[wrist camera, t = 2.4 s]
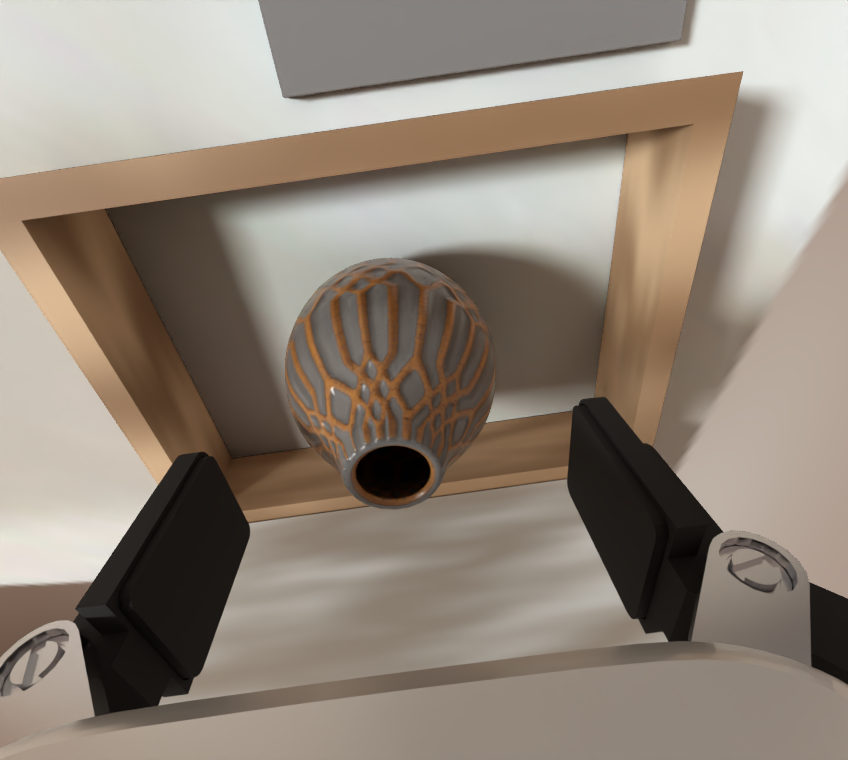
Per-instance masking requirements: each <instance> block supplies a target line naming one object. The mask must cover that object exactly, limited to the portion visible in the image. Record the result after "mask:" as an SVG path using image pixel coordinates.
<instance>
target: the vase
mask: <svg viewBox="0 0 848 760" xmlns="http://www.w3.org/2000/svg"><path fill="white" fill-rule="evenodd" d="M285 382H286V390H287V396H288V401H289V405H290V408H291V411H292V414H293V417H294V419H295V422H296V424H297V426H298V428H299V430H300V432H301V433H302V435H303V436H304V438H305V439H306V441H307V442H308V443H309V445H310V446H311V447H312V448H313V449H314V450H315V451H316V452H317V453H318V454H319V455H320V456H321V457H322V458H323V459H324V460H325V461H326V462H327V463H329V464H330V465H331V466H332V467H333V468H335V469H336V470H337V471H339V473H340V476H341V478H342V480H343V482H344V484H345V486H346V488H347V489H348V491H349V492H350V493H351V494H352V495H353V496H354V497H355V498H356V499H358V500H359V501H361V502H362V503H364V504H366V505H369V506H372V507H375V508H380V509H389V510H394V509H403V508H408V507H412V506H415V505H417V504H419V503H421V502H423V501H425V500H426V499H428V498H429V497H430V496H432V495H433V494H434V493H435V491H436V490H437V489H438V488H439V486H440V484H441V482H442V480H443V478H444V475H445V473H446V470H447V469H448V468H449V467H450V466H451V465H452V464H453V463H454V462H455V461H457V460H458V459H459V458H460V457H461V456H462V455H463V454H464V453H465V452H466V451H467V450H468V449H469V447H470V446H471V445H472V444H473V442H474V441H475V440H476V438H477V437H478V435H479V434H480V432H481V430H482V429H483V427H484V425H485V422H486V420H487V418H488V415H489V413H490V409H491V406H492V402H493V397H494V391H495V383H496V359H495V352H494V346H493V342H492V339H491V336H490V333H489V330H488V328H487V325H486V323H485V321H484V319H483V317H482V315H481V313H480V312H479V310H478V308H477V306H476V305H475V304H474V302H473V301H472V299H471V298H470V297H469V296H468V294H467V293H466V292H465V291H464V290H463V289H462V288H461V287H460V286H459V285H458V284H457V283H456V282H455V281H453V280H452V279H451V278H449V277H448V276H446V275H445V274H443V273H441V272H440V271H438V270H436V269H434V268H432V267H430V266H428V265H425V264H423V263H419V262H416V261H412V260H407V259H400V258H381V259H374V260H368V261H364V262H361V263H358V264H355V265H353V266H350V267H348V268H346V269H344V270H343V271H341V272H339V273H337V274H336V275H334V276H333V277H331V278H330V279H328V280H327V281H326V282H325V283H324V284H322V285H321V286H320V287H319V288H318V289H317V291H316V292H315V293H314V294H313V295H312V297H311V298H310V299H309V300H308V302H307V303H306V305H305V306H304V308H303V309H302V311H301V313H300V315H299V316H298V318H297V320H296V322H295V325H294V327H293V330H292V333H291V335H290V338H289V342H288V346H287V352H286V359H285Z"/></svg>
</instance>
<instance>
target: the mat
mask: <svg viewBox="0 0 848 760" xmlns="http://www.w3.org/2000/svg"><path fill="white" fill-rule="evenodd" d="M258 1H259V5H260V9H261V13H262V17H263V20H264V24H265V28H266V32H267V36H268V40H269V44H270V48H271V52H272V56H273V60H274V64H275V68H276V72H277V76H278V80H279V84H280V88H281V91H282V95H283V97H284V98H291V97H297V96H304V95H311V94H318V93H325V92H332V91H339V90H346V89H353V88H359V87H366V86H373V85H380V84H387V83H394V82H401V81H408V80H415V79H421V78H428V77H435V76H442V75H449V74H456V73H463V72H470V71H477V70H483V69H490V68H497V67H504V66H511V65H518V64H525V63H532V62H539V61H545V60H552V59H559V58H566V57H573V56H580V55H587V54H594V53H601V52H607V51H614V50H621V49H628V48H635V47H642V46H649V45H656V44H663V43H669V42H674V41H677V40H681V34H682V28H683V22H684V16H685V11H686V5H687V0H258Z"/></svg>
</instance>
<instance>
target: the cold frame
mask: <svg viewBox="0 0 848 760" xmlns="http://www.w3.org/2000/svg"><path fill="white" fill-rule="evenodd" d="M742 75H743V71H742V72H735V73H728V74H720V75H713V76H705V77H698V78H690V79H683V80H676V81H668V82H661V83H654V84H647V85H640V86H633V87H626V88H619V89H612V90H606V91H599V92H592V93H585V94H578V95H571V96H564V97H557V98H550V99H543V100H536V101H529V102H523V103H516V104H509V105H502V106H495V107H488V108H481V109H474V110H467V111H460V112H453V113H446V114H440V115H433V116H426V117H419V118H412V119H405V120H398V121H391V122H384V123H377V124H370V125H363V126H356V127H350V128H343V129H336V130H329V131H322V132H315V133H308V134H301V135H294V136H287V137H280V138H273V139H267V140H260V141H253V142H246V143H239V144H232V145H225V146H218V147H211V148H204V149H197V150H190V151H184V152H177V153H170V154H163V155H156V156H149V157H142V158H135V159H128V160H121V161H114V162H107V163H101V164H94V165H87V166H80V167H73V168H66V169H59V170H52V171H46V172H39V173H32V174H26V175H19V176H13V177H6V178H0V250H1V252H2V253H3V255H4V256H5V258H6V259H7V261H8V262H9V264H10V265H11V267H12V268H13V269H14V271H15V272H16V274H17V275H18V277H19V278H20V280H21V281H22V283H23V284H24V286H25V287H26V289H27V290H28V292H29V293H30V295H31V296H32V298H33V299H34V301H35V302H36V304H37V305H38V307H39V308H40V310H41V311H42V313H43V314H44V316H45V317H46V319H47V320H48V322H49V323H50V324H51V326H52V327H53V329H54V330H55V332H56V333H57V335H58V336H59V338H60V339H61V341H62V342H63V344H64V345H65V347H66V348H67V350H68V351H69V353H70V354H71V356H72V357H73V359H74V360H75V362H76V363H77V365H78V366H79V368H80V369H81V371H82V372H83V374H84V375H85V377H86V378H87V379H88V381H89V382H90V384H91V385H92V387H93V388H94V390H95V391H96V393H97V394H98V396H99V397H100V399H101V400H102V402H103V403H104V405H105V406H106V408H107V409H108V411H109V412H110V414H111V415H112V417H113V418H114V420H115V421H116V423H117V424H118V426H119V427H120V429H121V430H122V432H123V433H124V434H125V436H126V437H127V439H128V440H129V442H130V443H131V445H132V446H133V448H134V449H135V451H136V452H137V454H138V455H139V457H140V458H141V460H142V461H143V463H144V464H145V466H146V467H147V469H148V470H149V472H150V473H151V475H152V476H153V478H154V479H155V481H156V482H157V484H158V485H159V483H160V482H161V480H162V479H163V477H164V476H165V474H166V473H167V471H168V470H169V468H170V467H171V465H172V464H173V462H174V461H175V459H176V458H177V457H178V456H179V455H182V454H189V453H196V452H206V453H207V454H208V455H209V456H213V457H214V458H215V459H216V461H217V463H218V465H219V467H220V469H221V471H222V473H223V474H224V476H225V478H226V480H227V482H228V484H229V486H230V488H231V490H232V492H233V494H234V496H235V498H236V500H237V502H238V504H239V506H240V508H241V510H242V512H243V513H244V515H245V517H246V519H247V521H248V523H249V526H250V538H249V541H248V544H247V547H246V549H245V552H244V555H243V558H242V561H241V563H240V566H239V569H238V572H237V575H236V577H235V580H234V583H233V586H232V589H231V591H230V594H229V597H228V600H227V603H226V606H225V608H224V611H223V614H222V617H221V620H220V622H219V625H218V628H217V631H216V634H215V636H214V639H213V642H212V645H211V648H210V650H209V653H208V656H207V659H206V662H205V664H204V667H203V669H202V671H201V673H200V674H199V675H198V676H197V677H194V680H193V682H192V685H191V688H190V690H189V693H188V694H186V695H178V696H171V697H163V696H162V698H161V700H160V703H159V705H158V706H160V705H166V704H172V703H179V702H185V701H192V700H199V699H207V698H214V697H221V696H229V695H236V694H243V693H250V692H258V691H265V690H272V689H280V688H287V687H294V686H302V685H309V684H317V683H324V682H332V681H339V680H347V679H354V678H362V677H369V676H377V675H385V674H392V673H400V672H408V671H415V670H423V669H431V668H438V667H446V666H454V665H462V664H470V663H478V662H486V661H493V660H501V659H509V658H517V657H525V656H533V655H541V654H549V653H557V652H565V651H574V650H584V649H593V648H602V647H612V646H621V645H630V644H640V643H657V642H668V640H667V638H666V636H665V634H664V633H663V632H657V633H649V634H645V632H644V630H643V628H642V626H641V624H640V622H639V620H638V619H632V618H631V617H630V616H629V615H628V613H627V611H626V609H625V607H624V605H623V603H622V601H621V599H620V597H619V595H618V593H617V591H616V589H615V587H614V585H613V582H612V580H611V578H610V576H609V574H608V572H607V570H606V568H605V566H604V564H603V562H602V560H601V558H600V556H599V554H598V552H597V550H596V548H595V546H594V543H593V541H592V539H591V537H590V535H589V533H588V531H587V529H586V527H585V525H584V523H583V521H582V519H581V517H580V515H579V513H578V511H577V509H576V507H575V504H574V502H573V500H572V498H571V496H570V494H569V491H568V486H567V475H568V463H569V450H570V438H571V425H572V412H573V411H570V412H563V413H556V414H549V415H542V416H534V417H527V418H520V419H513V420H506V421H499V422H491V423H485V425H484V427H483V429H482V430H481V432H480V434H479V435H478V437H477V438H476V440H475V441H474V442H473V444H472V445H471V446H470V447H469V449H468V450H467V451H466V452H465V453H464V454H463V455H462V456H461V457H460V458H459V459H458V460H457V461H455V462H454V463H453V464H452V465H451V466H450V467H449V468H448V469H447V470H446V473H445V475H444V478H443V480H442V482H441V484H440V486H439V488H438V489H437V490H436V491H435V493H434V494H433V495H432V496H430V497H429V498H428V499H426V500H425V501H423V502H421V503H419V504H417V505H415V506H412V507H408V508H403V509H394V510H389V509H380V508H375V507H372V506H369V505H366V504H364V503H362V502H361V501H359V500H358V499H356V498H355V497H354V496H353V495H352V494H351V493H350V492H349V491H348V489H347V488H346V486H345V484H344V482H343V480H342V478H341V476H340V473H339V471H337V470H336V469H335V468H333V467H332V466H331V465H330V464H329V463H327V462H326V461H325V460H324V459H323V458H322V457H321V456H320V455H319V454H318V453H317V452H316V451H315V450H314V449H313V448H305V449H298V450H291V451H284V452H276V453H269V454H262V455H255V456H248V457H241V458H233V459H232V458H231V456H230V454H229V452H228V450H227V448H226V446H225V444H224V442H223V440H222V439H221V437H220V435H219V433H218V431H217V429H216V427H215V425H214V423H213V421H212V419H211V417H210V415H209V413H208V411H207V409H206V407H205V405H204V403H203V401H202V399H201V397H200V395H199V393H198V391H197V389H196V388H195V386H194V384H193V382H192V380H191V378H190V376H189V374H188V372H187V370H186V368H185V366H184V364H183V362H182V360H181V358H180V356H179V354H178V352H177V350H176V348H175V346H174V344H173V342H172V340H171V338H170V336H169V335H168V333H167V331H166V329H165V327H164V325H163V323H162V321H161V319H160V317H159V315H158V313H157V311H156V309H155V307H154V305H153V303H152V301H151V299H150V297H149V295H148V293H147V291H146V289H145V287H144V285H143V284H142V282H141V280H140V278H139V276H138V274H137V272H136V270H135V268H134V266H133V264H132V262H131V260H130V258H129V256H128V254H127V252H126V250H125V248H124V246H123V244H122V242H121V240H120V238H119V236H118V234H117V232H116V231H115V229H114V227H113V225H112V223H111V221H110V219H109V217H108V215H107V213H106V211H105V209H106V208H113V207H120V206H127V205H134V204H141V203H148V202H154V201H161V200H168V199H175V198H182V197H189V196H196V195H203V194H210V193H217V192H224V191H231V190H238V189H245V188H252V187H259V186H266V185H273V184H280V183H287V182H294V181H301V180H307V179H314V178H321V177H328V176H335V175H342V174H349V173H356V172H363V171H370V170H377V169H384V168H391V167H398V166H405V165H412V164H419V163H426V162H433V161H440V160H447V159H454V158H460V157H467V156H474V155H481V154H488V153H495V152H502V151H509V150H516V149H523V148H530V147H537V146H544V145H551V144H558V143H565V142H572V141H579V140H586V139H593V138H600V137H606V136H613V135H620V134H627V133H628V136H627V144H626V152H625V159H624V167H623V175H622V183H621V191H620V199H619V207H618V215H617V223H616V231H615V238H614V246H613V254H612V262H611V270H610V278H609V286H608V294H607V302H606V310H605V317H604V325H603V333H602V341H601V349H600V357H599V365H598V373H597V381H596V389H595V396H594V398H596V397H606V398H607V399H608V400H609V402H610V403H611V404H612V405H613V406H614V408H615V409H616V410H617V411H618V413H619V414H620V415H621V416H622V418H623V419H624V420H625V421H626V423H627V424H628V425H629V426H630V428H631V429H632V430H633V431H634V433H635V434H636V435H637V436H638V438H639V439H640V440H641V441H642V443H647V444H649V445H651V446H652V447H653V445H654V441H655V437H656V432H657V428H658V424H659V420H660V416H661V412H662V408H663V403H664V399H665V395H666V391H667V387H668V383H669V378H670V374H671V370H672V366H673V362H674V358H675V353H676V349H677V345H678V341H679V337H680V333H681V329H682V324H683V320H684V316H685V312H686V308H687V304H688V299H689V295H690V291H691V287H692V283H693V279H694V275H695V270H696V266H697V262H698V258H699V254H700V250H701V245H702V241H703V237H704V233H705V229H706V225H707V220H708V216H709V212H710V208H711V204H712V200H713V196H714V191H715V187H716V183H717V179H718V175H719V171H720V166H721V162H722V158H723V154H724V150H725V146H726V142H727V137H728V133H729V129H730V125H731V121H732V117H733V112H734V108H735V104H736V100H737V96H738V92H739V87H740V83H741V79H742Z"/></svg>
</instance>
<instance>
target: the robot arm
mask: <svg viewBox="0 0 848 760" xmlns="http://www.w3.org/2000/svg"><path fill="white" fill-rule="evenodd" d="M567 486H568V491H569V494H570V496H571V498H572V500H573V502H574V504H575V507H576V509H577V511H578V513H579V515H580V517H581V519H582V521H583V523H584V525H585V527H586V529H587V531H588V533H589V535H590V537H591V539H592V541H593V543H594V546H595V548H596V550H597V552H598V554H599V556H600V558H601V560H602V562H603V564H604V566H605V568H606V570H607V572H608V574H609V576H610V578H611V580H612V582H613V585H614V587H615V589H616V591H617V593H618V595H619V597H620V599H621V601H622V603H623V605H624V607H625V609H626V611H627V613H628V615H629V616H630V617H631V618H632V619H638V620H639V622H640V624H641V626H642V628H643V630H644V632H645V634H649V633H657V632H663V633H664V634H665V636H666V638H667V640H668V642H657V643H640V644H630V645H621V646H612V647H602V648H593V649H584V650H574V651H565V652H557V653H549V654H541V655H533V656H525V657H517V658H509V659H501V660H493V661H486V662H478V663H470V664H462V665H454V666H446V667H438V668H431V669H423V670H415V671H408V672H400V673H392V674H385V675H377V676H369V677H362V678H354V679H347V680H339V681H332V682H324V683H317V684H309V685H302V686H294V687H287V688H280V689H272V690H265V691H258V692H250V693H243V694H236V695H229V696H221V697H214V698H207V699H199V700H192V701H185V702H179V703H172V704H166V705H160V706H158V705H159V703H160V700H161V698H162V696H163V697H171V696H178V695H186V694H188V693H189V690H190V688H191V685H192V682H193V680H194V677H197V676H198V675H199V674H200V673H201V671H202V669H203V667H204V664H205V662H206V659H207V656H208V653H209V650H210V648H211V645H212V642H213V639H214V636H215V634H216V631H217V628H218V625H219V622H220V620H221V617H222V614H223V611H224V608H225V606H226V603H227V600H228V597H229V594H230V591H231V589H232V586H233V583H234V580H235V577H236V575H237V572H238V569H239V566H240V563H241V561H242V558H243V555H244V552H245V549H246V547H247V544H248V541H249V538H250V526H249V523H248V521H247V519H246V517H245V515H244V513H243V512H242V510H241V508H240V506H239V504H238V502H237V500H236V498H235V496H234V494H233V492H232V490H231V488H230V486H229V484H228V482H227V480H226V478H225V476H224V474H223V473H222V471H221V469H220V467H219V465H218V463H217V461H216V459H215V458H214V457H213V456H209V455H208V454H207V453H206V452H196V453H189V454H182V455H179V456H178V457H177V458H176V459H175V461H174V462H173V464H172V465H171V467H170V468H169V470H168V471H167V473H166V474H165V476H164V477H163V479H162V480H161V482H160V483H159V485H158V486H157V488H156V489H155V491H154V492H153V494H152V495H151V496H150V498H149V499H148V501H147V502H146V504H145V505H144V507H143V508H142V510H141V511H140V513H139V514H138V516H137V517H136V519H135V520H134V522H133V523H132V525H131V526H130V528H129V529H128V531H127V532H126V534H125V535H124V537H123V538H122V540H121V541H120V543H119V544H118V546H117V547H116V549H115V550H114V552H113V553H112V555H111V556H110V558H109V559H108V561H107V562H106V564H105V565H104V567H103V568H102V570H101V571H100V573H99V574H98V576H97V577H96V579H95V580H94V581H93V583H92V584H91V586H90V587H89V589H88V591H87V592H86V593H85V595H84V596H83V598H82V599H81V601H80V602H79V604H78V605H77V607H76V608H75V609H76V610H77V611H78V612H79V614H78V616H77V617H76V619H75V620H74V622H70V621H67V620H66V621H56V622H52V623H49V624H46V625H44V626H42V627H40V628H38V629H36V630H34V631H32V632H31V633H29V634H28V635H26V636H25V637H23V638H22V639H21V640H19V641H18V642H16V643H15V644H14V645H13V646H12V647H11V648H10V649H9V650H8V651H7V652H6V653H5V654H3V655H2V657H1V658H0V760H848V599H847V598H845V597H843V596H840V595H838V594H835V593H833V592H831V591H829V590H826V589H824V588H822V587H819V586H817V585H814V584H812V583H810V582H809V580H808V576H807V573H806V571H805V570H804V568H803V567H802V565H801V563H800V562H799V561H798V560H797V559H796V558H795V557H794V556H793V555H792V554H791V553H790V552H789V551H788V550H786V549H785V548H783V547H782V546H780V545H778V544H777V543H775V542H774V541H771V540H769V539H767V538H765V537H763V536H760V535H757V534H753V533H749V532H745V531H728V532H723V531H722V530H721V529H720V527H719V526H718V525H717V524H716V523H715V521H714V520H713V519H712V518H711V517H710V515H709V514H708V513H707V512H706V510H705V509H704V508H703V507H702V506H701V504H700V503H699V502H698V501H697V500H696V498H695V497H694V496H693V495H692V494H691V492H690V491H689V490H688V489H687V487H686V486H685V485H684V484H683V483H682V482H681V480H680V479H679V478H678V477H677V475H676V474H675V473H674V472H673V471H672V469H671V468H670V467H669V466H668V464H667V463H666V462H665V461H664V460H663V458H662V457H661V456H660V455H659V454H658V452H657V451H656V450H655V449H654V448H653V447H652V446H651V445H649V444H647V443H642V441H641V440H640V439H639V438H638V436H637V435H636V434H635V433H634V431H633V430H632V429H631V428H630V426H629V425H628V424H627V423H626V421H625V420H624V419H623V418H622V416H621V415H620V414H619V413H618V411H617V410H616V409H615V408H614V406H613V405H612V404H611V403H610V402H609V400H608V399H607V398H606V397H596V398H589V399H582V400H581V401H580V403H579V406H574V408H573V412H572V425H571V438H570V450H569V463H568V475H567Z"/></svg>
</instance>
